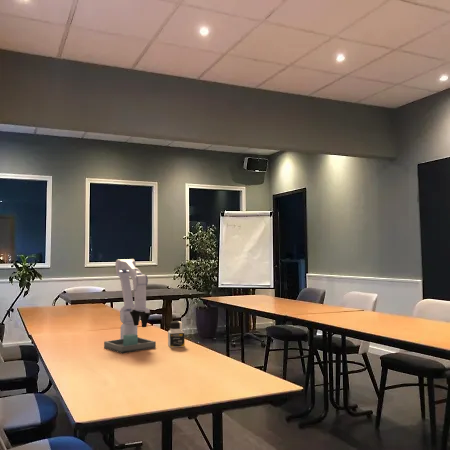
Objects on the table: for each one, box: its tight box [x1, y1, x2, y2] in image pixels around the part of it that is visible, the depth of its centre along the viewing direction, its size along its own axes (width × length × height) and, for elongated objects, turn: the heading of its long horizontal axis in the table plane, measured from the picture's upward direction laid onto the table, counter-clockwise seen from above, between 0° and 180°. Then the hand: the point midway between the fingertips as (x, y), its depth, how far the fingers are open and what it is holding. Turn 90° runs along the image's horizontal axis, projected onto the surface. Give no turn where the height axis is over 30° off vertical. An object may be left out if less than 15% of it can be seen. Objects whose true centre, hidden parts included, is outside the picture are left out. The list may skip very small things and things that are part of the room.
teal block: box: [123, 334, 139, 346], centre depth 224 cm, size 5×5×5 cm
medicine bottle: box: [167, 320, 186, 349], centre depth 228 cm, size 7×7×12 cm
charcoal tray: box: [103, 336, 157, 354], centre depth 224 cm, size 18×18×3 cm
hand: (140, 326), depth 231 cm, fingers open, 7 cm apart
